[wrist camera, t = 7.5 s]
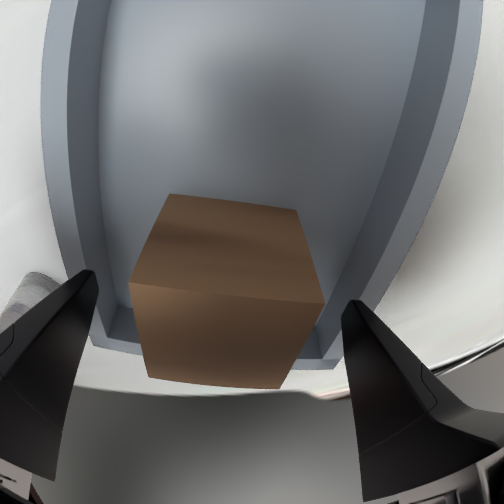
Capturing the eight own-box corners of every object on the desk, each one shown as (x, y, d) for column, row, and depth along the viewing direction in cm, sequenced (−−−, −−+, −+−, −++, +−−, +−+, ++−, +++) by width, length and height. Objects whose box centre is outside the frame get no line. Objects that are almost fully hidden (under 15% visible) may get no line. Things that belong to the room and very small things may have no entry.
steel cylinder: (80, 322, 16) (60, 372, 12) (35, 310, 15) (13, 355, 12) (63, 277, 13) (34, 331, 10) (16, 267, 13) (-15, 314, 10)
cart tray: (331, 322, 16) (343, 368, 13) (101, 297, 14) (83, 343, 12) (443, -3, 5) (495, -7, 3) (108, -64, 4) (70, -89, 1)
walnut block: (270, 298, 13) (279, 389, 9) (169, 287, 12) (148, 377, 8) (296, 210, 10) (325, 303, 6) (169, 193, 9) (128, 282, 6)
